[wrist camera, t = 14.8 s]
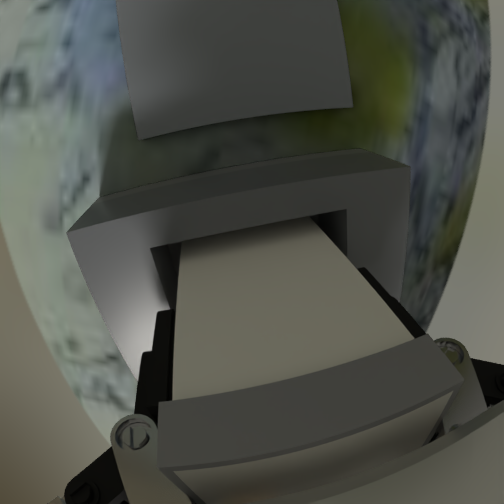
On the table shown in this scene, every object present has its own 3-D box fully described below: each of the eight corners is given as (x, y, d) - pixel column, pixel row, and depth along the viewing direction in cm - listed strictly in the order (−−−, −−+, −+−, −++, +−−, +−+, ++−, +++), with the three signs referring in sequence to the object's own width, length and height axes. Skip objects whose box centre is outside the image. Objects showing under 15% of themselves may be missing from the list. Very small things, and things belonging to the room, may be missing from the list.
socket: (354, 360, 20) (378, 403, 16) (181, 399, 19) (182, 449, 15) (360, 148, 13) (410, 166, 10) (99, 197, 12) (66, 232, 9)
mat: (347, 106, 12) (353, 107, 12) (141, 139, 12) (138, 140, 11) (324, -30, 9) (329, -34, 9) (118, -8, 9) (114, -12, 8)
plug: (311, 303, 16) (401, 480, 7) (205, 326, 15) (228, 528, 6) (304, 201, 13) (464, 379, 4) (177, 226, 13) (157, 467, 4)
